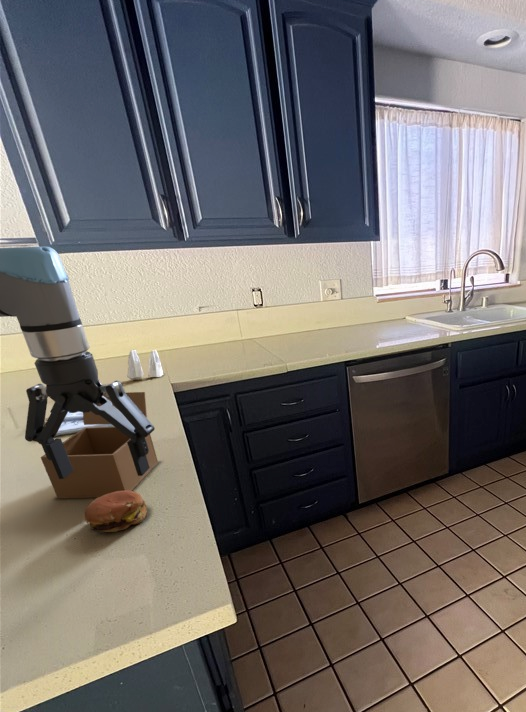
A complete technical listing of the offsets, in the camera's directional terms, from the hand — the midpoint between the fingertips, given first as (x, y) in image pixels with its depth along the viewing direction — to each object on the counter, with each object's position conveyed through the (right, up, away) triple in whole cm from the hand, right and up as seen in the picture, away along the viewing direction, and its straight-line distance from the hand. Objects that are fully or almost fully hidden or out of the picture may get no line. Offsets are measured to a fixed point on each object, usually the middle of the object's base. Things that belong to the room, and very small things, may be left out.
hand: (105, 473), depth 75 cm
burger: (0, -9, +4) cm, 10 cm away
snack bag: (-37, +10, +48) cm, 62 cm away
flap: (-11, +13, +19) cm, 25 cm away
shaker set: (-40, +27, +85) cm, 97 cm away
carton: (-10, -3, +18) cm, 21 cm away
